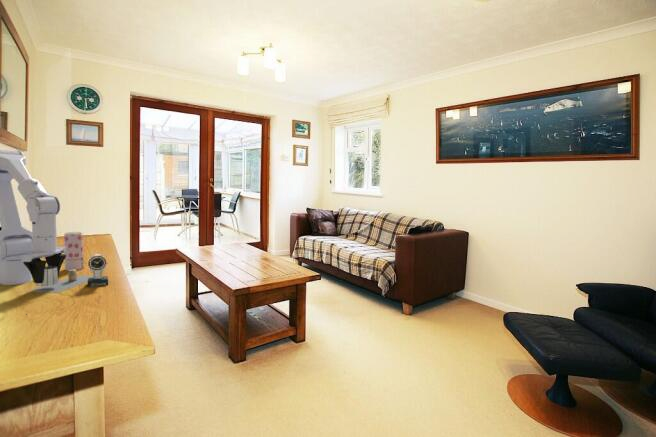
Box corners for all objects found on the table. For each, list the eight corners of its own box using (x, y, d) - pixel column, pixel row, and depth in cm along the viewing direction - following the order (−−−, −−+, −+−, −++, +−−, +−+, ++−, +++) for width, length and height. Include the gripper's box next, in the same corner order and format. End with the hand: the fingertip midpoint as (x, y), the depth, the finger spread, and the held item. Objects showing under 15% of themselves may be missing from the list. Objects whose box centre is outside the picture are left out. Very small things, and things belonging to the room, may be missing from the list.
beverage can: (62, 272, 135) (61, 232, 133) (79, 269, 139) (78, 231, 138) (69, 274, 132) (67, 234, 130) (86, 271, 136) (85, 232, 135)
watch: (87, 292, 111) (86, 257, 110) (88, 285, 118) (87, 252, 117) (108, 290, 114) (107, 255, 113) (108, 283, 121) (107, 251, 120)
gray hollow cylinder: (30, 285, 107) (30, 269, 107) (45, 281, 112) (44, 265, 112) (48, 286, 107) (47, 270, 107) (61, 281, 112) (61, 266, 112)
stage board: (27, 295, 107) (27, 291, 106) (76, 278, 126) (75, 275, 126) (57, 296, 106) (57, 292, 106) (101, 279, 126) (101, 276, 126)
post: (67, 281, 118) (66, 270, 118) (71, 279, 120) (71, 269, 120) (73, 281, 118) (73, 271, 118) (78, 280, 120) (78, 269, 120)
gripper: (38, 240, 101) (40, 287, 102) (75, 233, 116) (76, 274, 117) (13, 239, 101) (15, 286, 102) (53, 232, 116) (54, 274, 117)
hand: (46, 280), depth 110 cm, fingers closed on gray hollow cylinder, 5 cm apart
